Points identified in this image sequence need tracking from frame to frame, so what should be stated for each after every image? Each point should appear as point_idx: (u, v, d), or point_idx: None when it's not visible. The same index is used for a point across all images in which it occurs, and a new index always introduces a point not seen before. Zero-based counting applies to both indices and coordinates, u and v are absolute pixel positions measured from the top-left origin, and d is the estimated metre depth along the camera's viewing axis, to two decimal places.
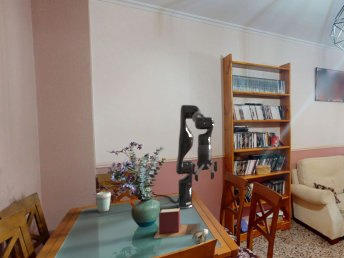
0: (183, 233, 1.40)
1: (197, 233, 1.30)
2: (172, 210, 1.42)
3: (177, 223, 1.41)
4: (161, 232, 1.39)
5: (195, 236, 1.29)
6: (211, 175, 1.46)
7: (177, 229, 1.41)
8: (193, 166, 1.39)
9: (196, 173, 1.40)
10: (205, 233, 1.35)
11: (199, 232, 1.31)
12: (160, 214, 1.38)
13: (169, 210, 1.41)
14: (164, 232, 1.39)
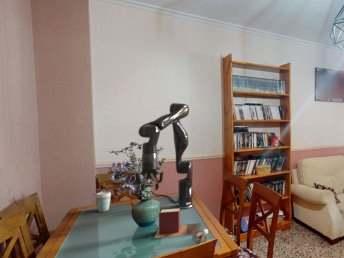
0: (183, 233, 1.40)
1: (197, 233, 1.30)
2: (172, 210, 1.42)
3: (177, 223, 1.41)
4: (161, 232, 1.39)
5: (195, 236, 1.29)
6: None
7: (177, 229, 1.41)
8: (136, 176, 1.38)
9: (141, 183, 1.39)
10: (205, 233, 1.35)
11: (199, 232, 1.31)
12: (160, 214, 1.38)
13: (169, 210, 1.41)
14: (164, 232, 1.39)
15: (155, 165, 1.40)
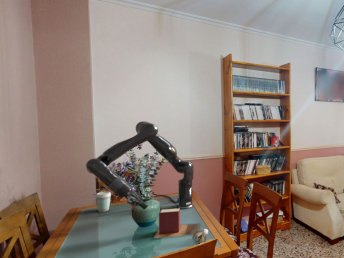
0: (183, 233, 1.40)
1: (197, 233, 1.30)
2: (172, 210, 1.42)
3: (177, 223, 1.41)
4: (161, 232, 1.39)
5: (195, 236, 1.29)
6: None
7: (177, 229, 1.41)
8: None
9: None
10: (205, 233, 1.35)
11: (199, 232, 1.31)
12: (160, 214, 1.38)
13: (169, 210, 1.41)
14: (164, 232, 1.39)
15: (119, 194, 1.32)
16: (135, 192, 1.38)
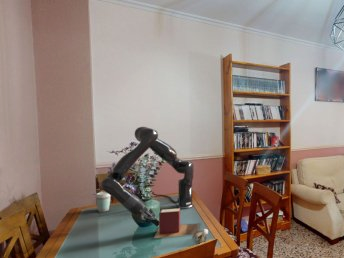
0: (183, 233, 1.40)
1: (197, 233, 1.30)
2: (172, 210, 1.42)
3: (177, 223, 1.41)
4: (161, 232, 1.39)
5: (195, 236, 1.29)
6: None
7: (177, 229, 1.41)
8: None
9: None
10: (205, 233, 1.35)
11: (199, 232, 1.31)
12: (160, 214, 1.38)
13: (170, 210, 1.41)
14: (164, 232, 1.39)
15: (133, 211, 1.34)
16: (148, 209, 1.40)
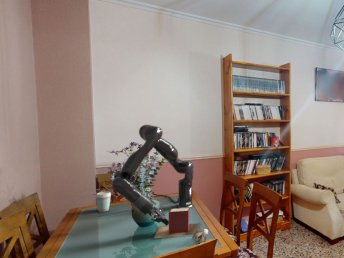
0: (183, 233, 1.40)
1: (197, 233, 1.30)
2: (181, 209, 1.43)
3: (186, 222, 1.42)
4: (171, 231, 1.40)
5: (195, 236, 1.29)
6: None
7: (186, 228, 1.42)
8: None
9: None
10: (205, 233, 1.35)
11: (199, 232, 1.31)
12: (170, 213, 1.39)
13: (179, 210, 1.42)
14: (174, 231, 1.40)
15: (143, 211, 1.35)
16: None
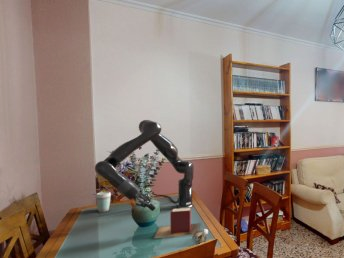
0: (183, 233, 1.40)
1: (197, 233, 1.30)
2: (183, 209, 1.43)
3: (188, 222, 1.42)
4: (173, 231, 1.40)
5: (195, 236, 1.29)
6: None
7: (188, 228, 1.42)
8: None
9: None
10: (205, 233, 1.35)
11: (199, 232, 1.31)
12: (172, 213, 1.40)
13: (181, 210, 1.42)
14: (175, 231, 1.41)
15: (127, 196, 1.33)
16: (143, 194, 1.39)
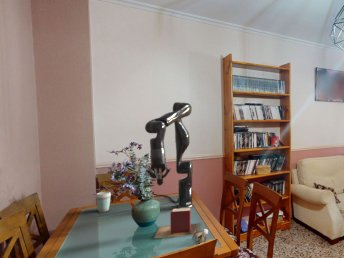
0: (183, 233, 1.40)
1: (197, 233, 1.30)
2: (183, 209, 1.43)
3: (188, 222, 1.42)
4: (173, 231, 1.40)
5: (195, 236, 1.29)
6: None
7: (188, 228, 1.42)
8: (149, 172, 1.44)
9: (157, 177, 1.45)
10: (205, 233, 1.35)
11: (199, 232, 1.31)
12: (172, 213, 1.40)
13: (181, 210, 1.42)
14: (175, 231, 1.41)
15: (163, 160, 1.44)
16: None
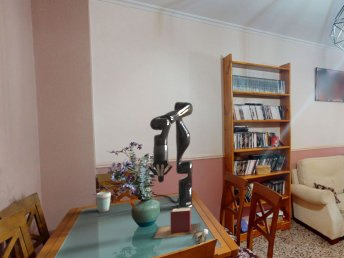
0: (183, 233, 1.40)
1: (197, 233, 1.30)
2: (183, 209, 1.43)
3: (188, 222, 1.42)
4: (173, 231, 1.40)
5: (195, 236, 1.29)
6: None
7: (188, 228, 1.42)
8: (150, 169, 1.44)
9: (158, 174, 1.45)
10: (205, 233, 1.35)
11: (199, 232, 1.31)
12: (172, 213, 1.40)
13: (181, 210, 1.42)
14: (175, 231, 1.41)
15: (166, 157, 1.45)
16: None
